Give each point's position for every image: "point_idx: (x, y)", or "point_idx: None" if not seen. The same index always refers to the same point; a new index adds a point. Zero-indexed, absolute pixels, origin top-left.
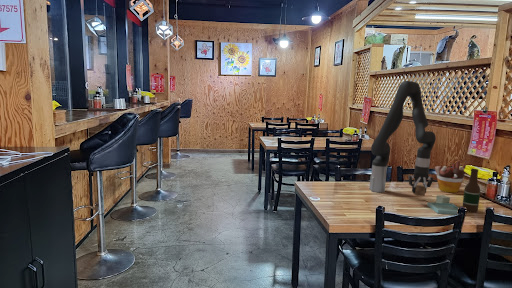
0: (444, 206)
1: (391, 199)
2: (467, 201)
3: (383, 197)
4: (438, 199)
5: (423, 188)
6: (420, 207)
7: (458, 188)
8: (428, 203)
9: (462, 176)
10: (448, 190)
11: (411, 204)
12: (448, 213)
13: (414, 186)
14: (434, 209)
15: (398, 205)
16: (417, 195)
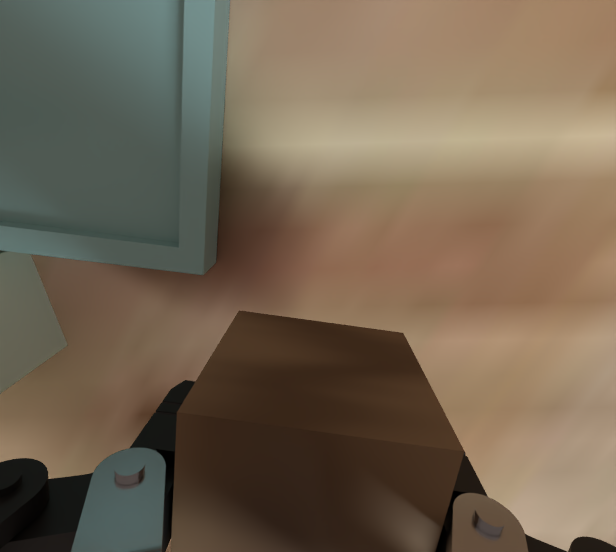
0: (12, 135)
1: (543, 466)
2: None
3: (591, 525)
4: (2, 338)
5: (249, 403)
6: (353, 177)
7: None
8: (207, 239)
9: None
10: None
11: (406, 297)
12: None
13: (497, 513)
14: (223, 11)
15: (612, 253)
16: (370, 330)
